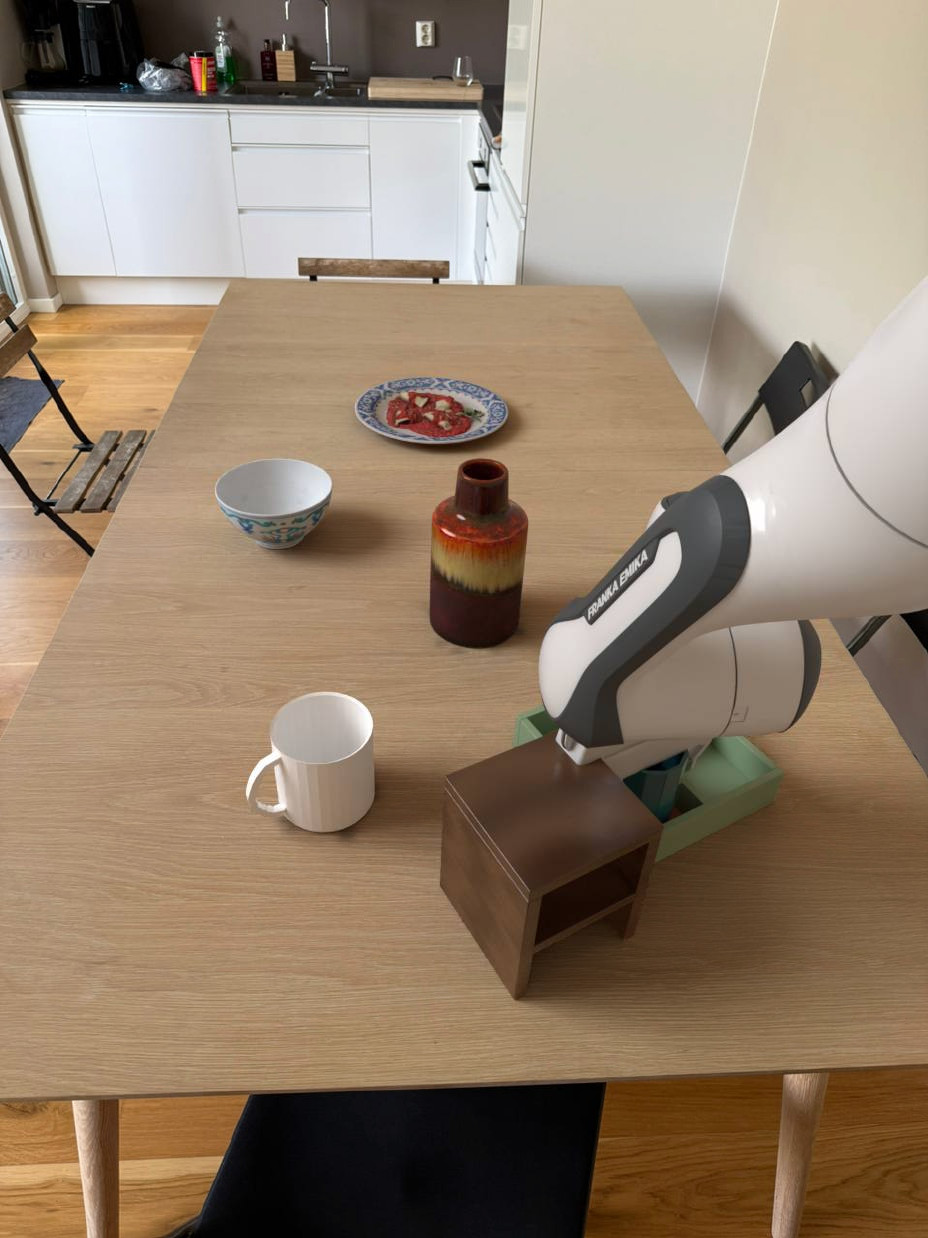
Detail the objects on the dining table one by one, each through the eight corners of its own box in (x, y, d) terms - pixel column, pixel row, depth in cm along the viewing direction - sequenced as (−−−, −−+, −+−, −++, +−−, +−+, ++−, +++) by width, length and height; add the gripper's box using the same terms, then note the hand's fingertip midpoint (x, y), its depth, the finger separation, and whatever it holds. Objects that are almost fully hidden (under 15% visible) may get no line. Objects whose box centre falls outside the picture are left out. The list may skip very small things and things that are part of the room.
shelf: (634, 934, 74) (664, 826, 66) (514, 1000, 69) (530, 892, 61) (552, 833, 82) (570, 724, 74) (439, 885, 77) (444, 775, 69)
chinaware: (324, 571, 114) (320, 519, 109) (208, 562, 114) (199, 510, 110) (343, 511, 126) (341, 462, 121) (238, 503, 126) (232, 454, 122)
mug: (357, 751, 89) (354, 682, 84) (388, 817, 83) (387, 746, 77) (237, 785, 85) (226, 714, 80) (261, 857, 79) (249, 786, 73)
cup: (683, 824, 83) (704, 757, 77) (628, 852, 80) (644, 784, 74) (638, 777, 87) (654, 710, 81) (584, 802, 84) (597, 734, 79)
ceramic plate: (331, 439, 143) (330, 422, 141) (384, 380, 163) (384, 364, 161) (486, 465, 138) (487, 448, 137) (521, 401, 158) (523, 385, 156)
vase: (502, 588, 113) (515, 442, 100) (530, 641, 105) (548, 489, 92) (420, 599, 110) (422, 450, 98) (442, 654, 102) (447, 499, 89)
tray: (773, 802, 86) (785, 772, 84) (624, 878, 79) (632, 848, 76) (651, 689, 99) (658, 659, 96) (512, 745, 91) (515, 715, 88)
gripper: (591, 738, 66) (569, 855, 74) (786, 656, 75) (747, 769, 83) (543, 687, 70) (527, 803, 79) (733, 615, 79) (701, 727, 87)
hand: (641, 785), depth 81 cm, fingers open, 8 cm apart
